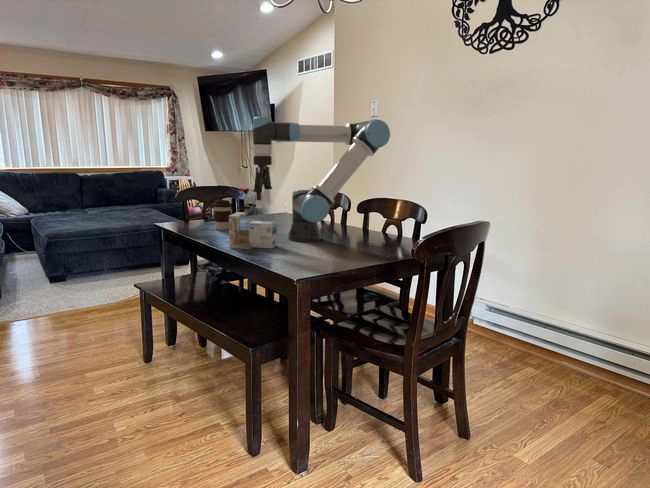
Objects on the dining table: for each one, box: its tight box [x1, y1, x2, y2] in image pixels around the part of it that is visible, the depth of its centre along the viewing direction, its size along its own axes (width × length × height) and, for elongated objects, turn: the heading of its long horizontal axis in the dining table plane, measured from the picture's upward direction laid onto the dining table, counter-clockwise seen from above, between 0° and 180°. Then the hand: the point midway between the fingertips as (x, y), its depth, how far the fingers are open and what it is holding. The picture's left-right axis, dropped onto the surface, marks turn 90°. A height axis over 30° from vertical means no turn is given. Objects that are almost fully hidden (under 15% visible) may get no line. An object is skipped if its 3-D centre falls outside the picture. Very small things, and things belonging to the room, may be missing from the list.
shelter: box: [228, 211, 252, 250], centre depth 196 cm, size 12×9×14 cm
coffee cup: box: [211, 199, 233, 231], centre depth 236 cm, size 10×10×15 cm
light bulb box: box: [248, 220, 278, 249], centre depth 195 cm, size 11×7×11 cm, turn 78°
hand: (263, 206), depth 193 cm, fingers open, 13 cm apart
